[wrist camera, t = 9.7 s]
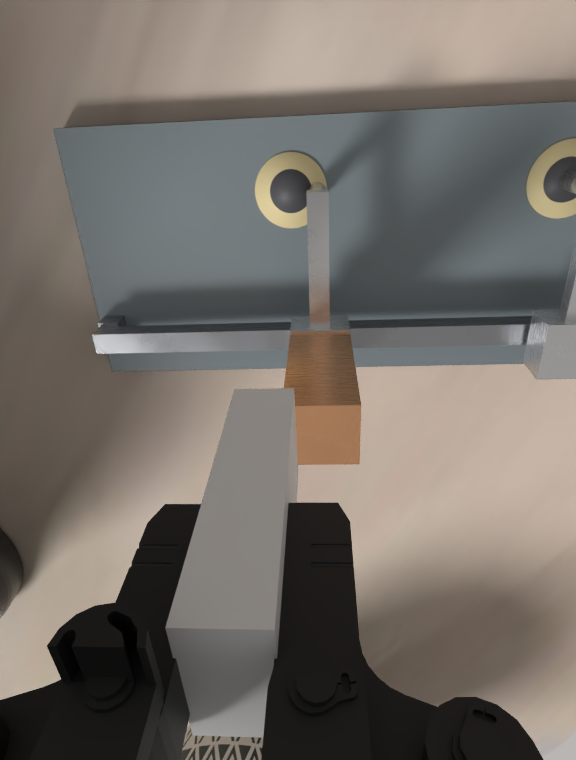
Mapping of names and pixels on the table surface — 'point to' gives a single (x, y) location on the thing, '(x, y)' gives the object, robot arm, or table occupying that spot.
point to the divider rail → (377, 332)
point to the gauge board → (346, 222)
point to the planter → (221, 747)
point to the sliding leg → (323, 358)
